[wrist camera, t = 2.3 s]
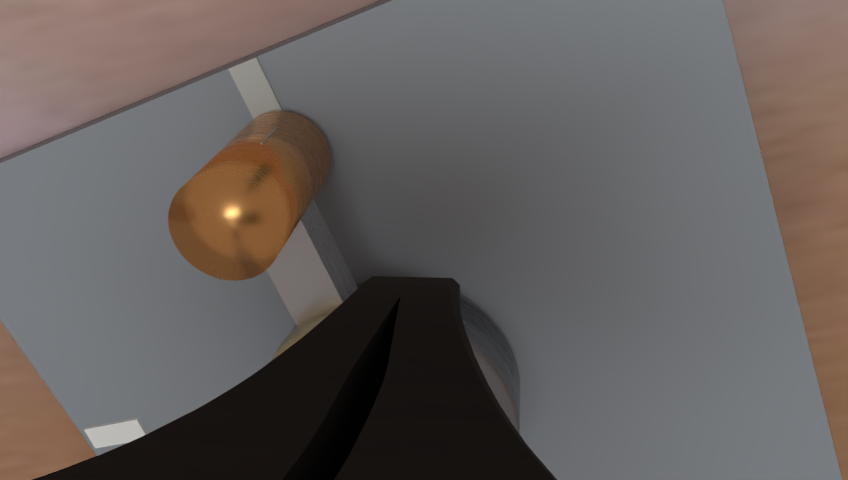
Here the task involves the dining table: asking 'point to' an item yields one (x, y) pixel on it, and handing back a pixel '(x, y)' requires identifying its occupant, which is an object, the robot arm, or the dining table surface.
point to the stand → (455, 231)
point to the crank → (294, 235)
